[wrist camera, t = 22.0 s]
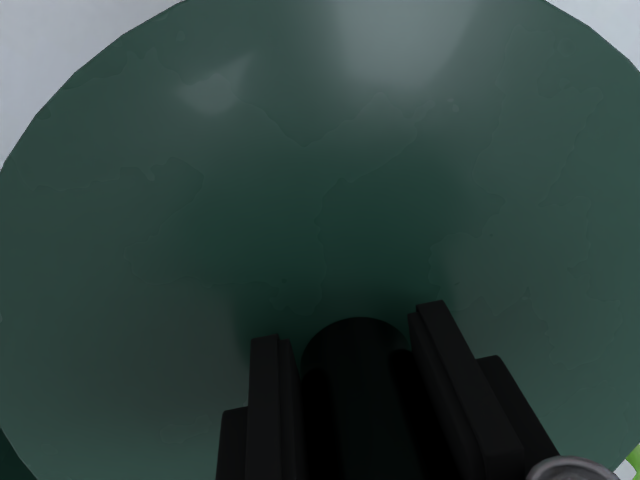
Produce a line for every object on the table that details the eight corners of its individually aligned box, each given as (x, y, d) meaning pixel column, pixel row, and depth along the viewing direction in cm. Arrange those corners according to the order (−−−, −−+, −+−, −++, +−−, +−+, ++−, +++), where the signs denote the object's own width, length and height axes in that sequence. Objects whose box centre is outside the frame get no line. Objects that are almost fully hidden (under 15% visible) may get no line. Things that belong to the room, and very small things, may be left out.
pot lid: (-87, 453, 13) (-374, 842, 7) (169, -248, 8) (-89, -839, 2) (433, 602, 18) (518, 926, 12) (813, 199, 13) (1316, 405, 7)
